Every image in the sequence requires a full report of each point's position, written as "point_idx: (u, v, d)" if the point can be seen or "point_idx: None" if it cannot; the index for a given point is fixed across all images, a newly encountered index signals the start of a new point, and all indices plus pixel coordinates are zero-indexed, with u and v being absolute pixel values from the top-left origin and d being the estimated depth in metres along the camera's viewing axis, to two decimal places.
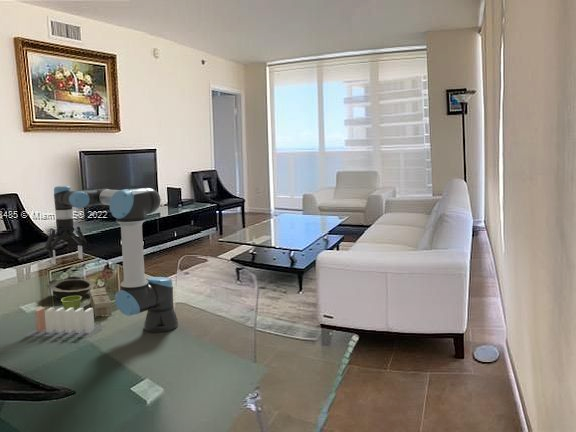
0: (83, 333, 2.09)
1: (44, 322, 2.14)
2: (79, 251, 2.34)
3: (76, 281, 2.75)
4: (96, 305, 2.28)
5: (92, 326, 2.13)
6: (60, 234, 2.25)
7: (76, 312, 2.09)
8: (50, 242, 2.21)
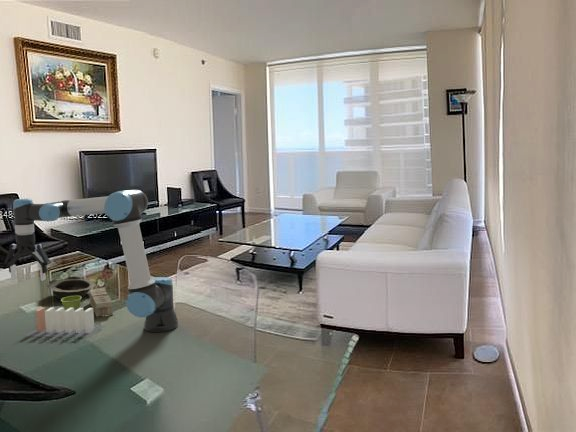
0: (83, 333, 2.09)
1: (44, 322, 2.14)
2: None
3: (76, 281, 2.75)
4: (97, 305, 2.29)
5: (92, 326, 2.13)
6: None
7: (76, 312, 2.09)
8: (7, 257, 2.10)
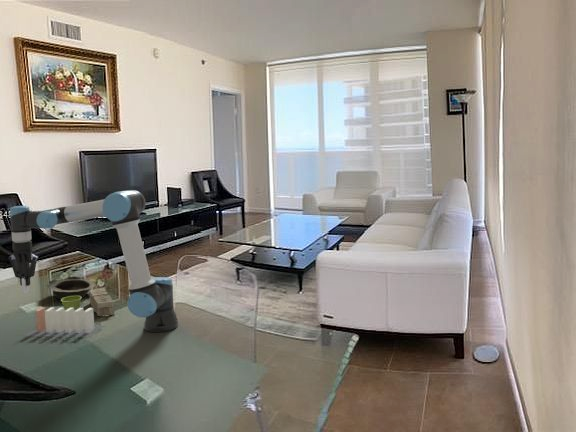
0: (83, 333, 2.09)
1: (44, 322, 2.14)
2: None
3: (76, 281, 2.75)
4: (99, 305, 2.29)
5: (92, 326, 2.13)
6: None
7: (76, 312, 2.09)
8: (14, 269, 2.09)
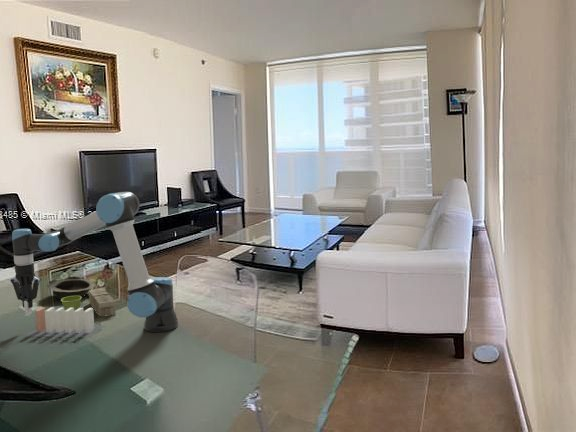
0: (83, 333, 2.09)
1: (44, 322, 2.14)
2: None
3: (76, 281, 2.75)
4: (101, 305, 2.29)
5: (92, 326, 2.13)
6: None
7: (76, 312, 2.09)
8: (16, 291, 2.11)
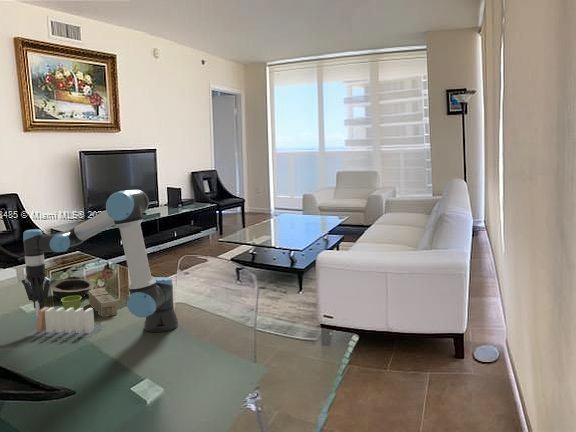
0: (83, 333, 2.09)
1: (45, 322, 2.14)
2: None
3: (76, 281, 2.75)
4: (102, 304, 2.29)
5: (92, 326, 2.13)
6: None
7: (76, 312, 2.09)
8: (27, 292, 2.10)
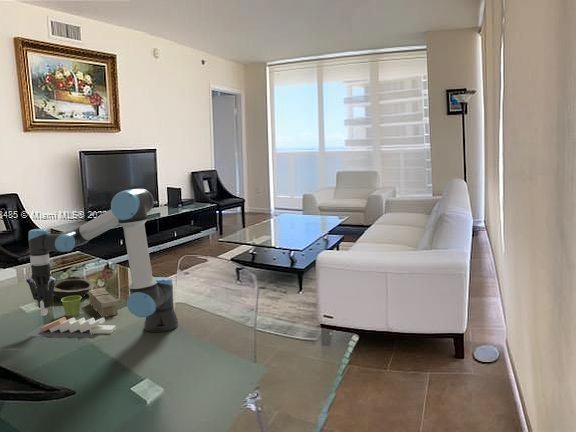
0: (83, 333, 2.09)
1: None
2: None
3: (76, 281, 2.75)
4: (103, 304, 2.30)
5: None
6: (36, 282, 2.10)
7: (98, 323, 2.09)
8: (32, 292, 2.10)
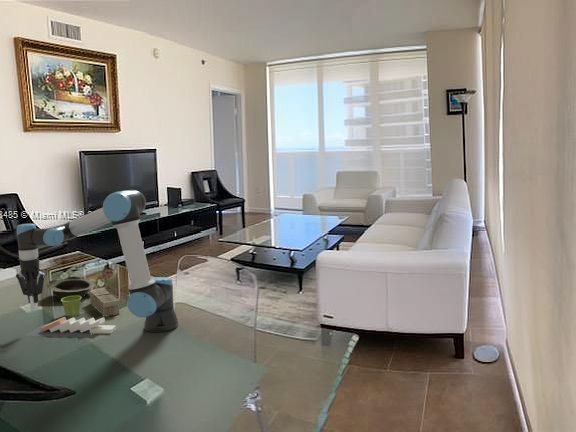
0: (83, 333, 2.09)
1: None
2: None
3: (76, 281, 2.75)
4: (105, 304, 2.30)
5: None
6: None
7: (98, 323, 2.09)
8: (21, 287, 2.10)
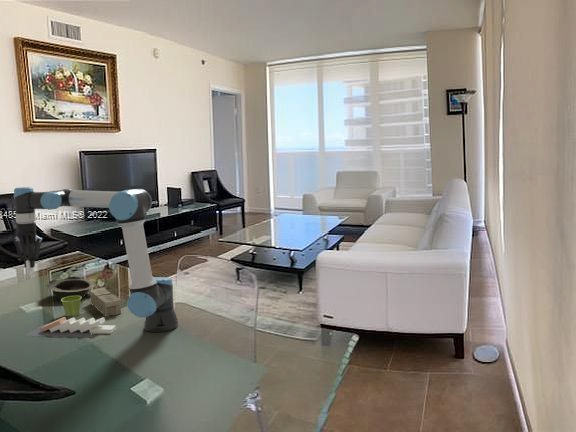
0: (83, 333, 2.09)
1: None
2: None
3: (76, 281, 2.75)
4: (107, 304, 2.30)
5: None
6: None
7: (98, 323, 2.09)
8: (18, 251, 2.08)
